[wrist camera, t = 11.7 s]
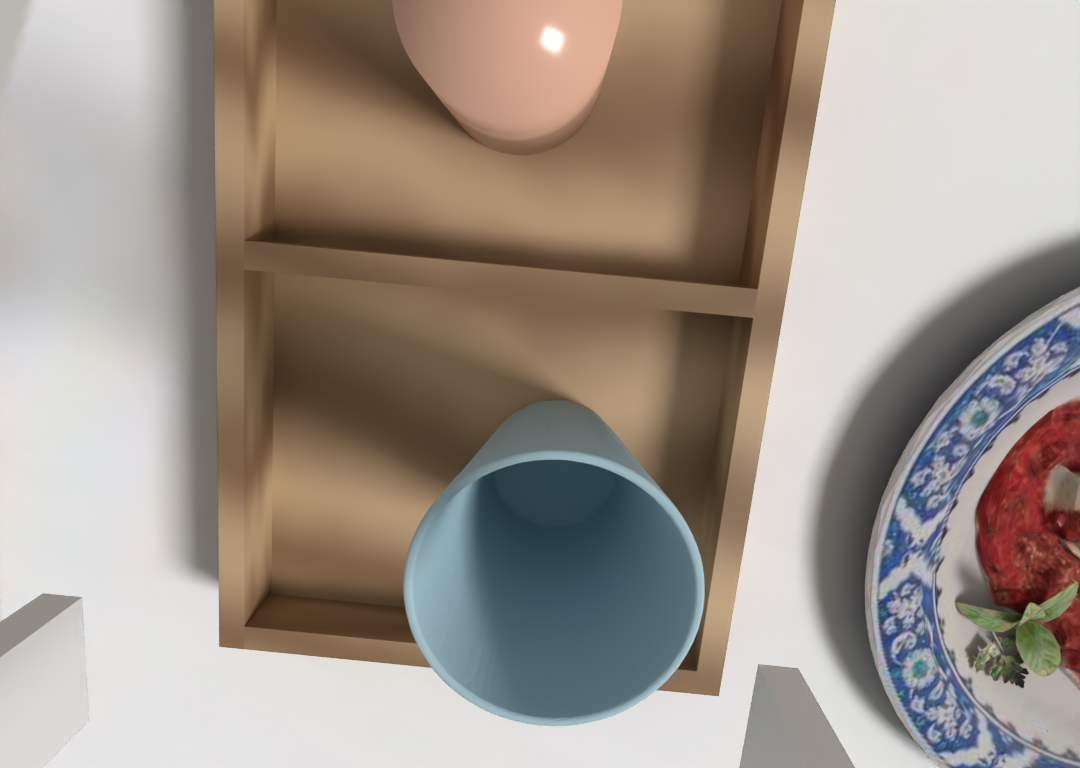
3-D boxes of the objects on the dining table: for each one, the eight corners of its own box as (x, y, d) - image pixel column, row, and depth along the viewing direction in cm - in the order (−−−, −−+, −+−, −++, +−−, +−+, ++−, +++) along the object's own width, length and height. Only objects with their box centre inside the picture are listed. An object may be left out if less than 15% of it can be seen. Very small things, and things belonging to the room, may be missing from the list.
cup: (455, 543, 27) (396, 716, 17) (464, 365, 26) (406, 438, 16) (635, 558, 27) (683, 739, 17) (655, 380, 26) (721, 463, 16)
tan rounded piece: (444, -30, 23) (397, -148, 16) (613, -14, 23) (636, -127, 16) (434, 147, 24) (386, 107, 17) (594, 162, 24) (609, 127, 17)
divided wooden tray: (262, -191, 23) (211, -268, 20) (824, -141, 23) (871, -209, 20) (258, 600, 29) (219, 646, 26) (699, 643, 29) (718, 696, 26)
